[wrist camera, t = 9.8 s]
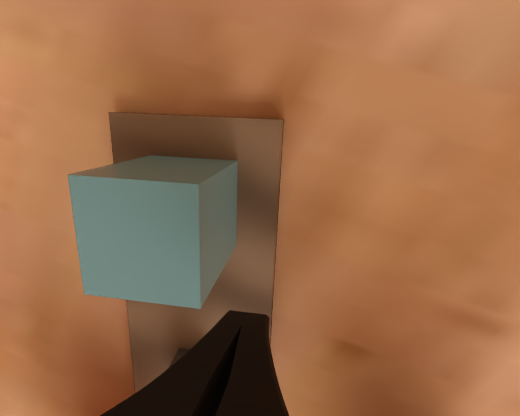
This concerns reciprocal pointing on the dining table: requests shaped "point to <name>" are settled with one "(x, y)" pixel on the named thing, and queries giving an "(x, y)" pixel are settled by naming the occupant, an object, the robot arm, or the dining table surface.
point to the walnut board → (247, 226)
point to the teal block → (155, 227)
